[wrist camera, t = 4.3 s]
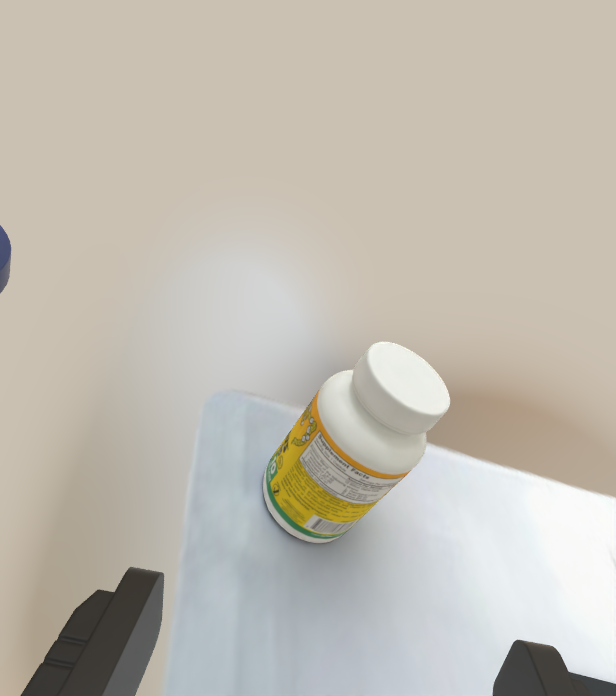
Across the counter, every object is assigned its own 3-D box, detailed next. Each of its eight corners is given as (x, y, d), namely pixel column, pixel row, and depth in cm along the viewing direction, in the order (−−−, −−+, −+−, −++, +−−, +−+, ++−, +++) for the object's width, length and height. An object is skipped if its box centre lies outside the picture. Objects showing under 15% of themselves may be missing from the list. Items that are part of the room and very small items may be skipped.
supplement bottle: (314, 570, 20) (440, 455, 15) (238, 484, 22) (327, 351, 16) (366, 504, 24) (479, 396, 19) (299, 437, 26) (387, 318, 20)
